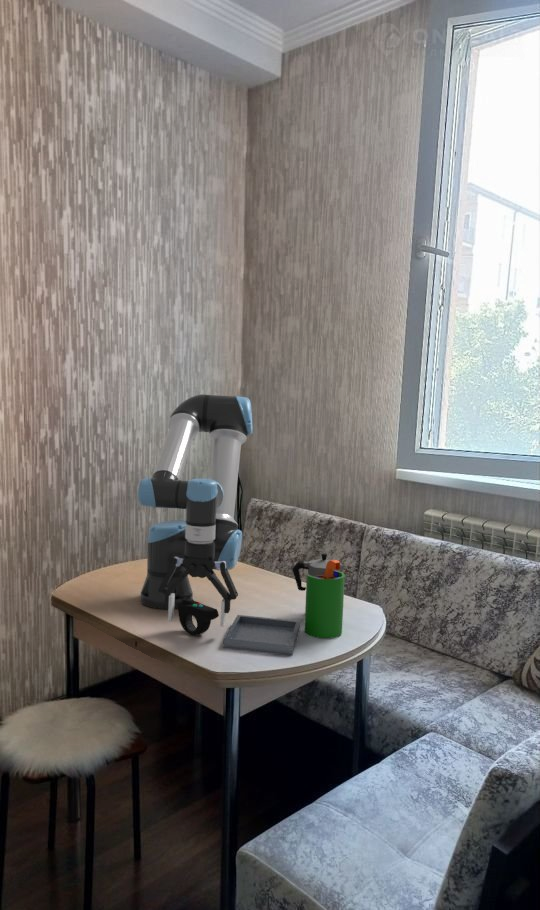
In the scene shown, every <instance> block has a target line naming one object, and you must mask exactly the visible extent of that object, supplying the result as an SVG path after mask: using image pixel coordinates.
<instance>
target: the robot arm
mask: <svg viewBox="0 0 540 910" xmlns="http://www.w3.org/2000/svg"><path fill="white" fill-rule="evenodd" d="M167 426H168V427H167V428H168V432H167V435H166V437H165V440H164V444H163V445H162V449H161V452H160V454H159V457H158V460H157V462H156V465H155V467H154V471H153V473H152V476H151V477H144V478H142V479H140V481H139V483H138V490H137V498H138V502H139V505H141V506H143V507H150V508H162V509H180V510H181V509H182V510H186V511H185V513H186V514H185V515H186V516H185V517H186V518H185V520H183V519H176V520H175V519H173V520H165V521H160V522H157V523H154V524H153V525H151V526H150V528H149V530H148V536H147V559H146V560H147V564H146V565H147V568H146V570H147V572H146V577H145V580H144V582H143V585H142V587H141V591H140V595H139V596H140V599H139V601H140V603H141V602H142V603H143V604H142V603H141V604H142V605H144V606H145V605H146V607H149V608H153V609H160V610H168V611H167V622H172V621H173V620H174V618H175V609H178V603H177V602H178V601H180V600H183V599H185V598H186V596H184V594H185V593H192V596H191V598H192V599H193V598H194V597H193V596H194V593H193V590H192V585H191V583H190V582H191V581H190V579H189V576H190V577H192V578H200V579H204V578H206V579H207V580H208V581H210V582H211V584H212V585H213V586H214V588H215V589H216V591H217V592H218V593H219V594H220V596H221V598H222V600H221V602H220V603H221V604H220V605H221V606H220V625H219V626H220V628H223V627H224V626H225V624H226V619H227V614H229V613H230V611H231V601H232V600H236V599H238V596H239V593H238V590H237V588H236V586H235V583H234V582H233V579H232V576H231V575H230V572H229V571H231V570H233V569H234V568H235V567H236V565H237V564H238V560H239V557H240V553H241V549H242V542H243V532H242V530H240V529H239V524H238V522H237V521H236V520H235V518H234V517H235V509H236V508H235V507H236V499H237V498H236V497H237V490H238V489H237V488H238V478H239V471H240V470H239V468H240V462H241V461H240V459H241V451H242V449H241V448H242V445H243V444H244V443H246V442H247V440H248V436H250V435H253V428H254V427H253V413H252V404H251V400H250V399H249V398H248V397H247V396H237V395H219V394H218V395H215V394H196V395H194V396H191V397H189V398H187V399H185V400H184V401H183V402H181V403H180V404H178V405H177V407H176V408H175V409H174V411H173V412H172V413H171V414H170V417H169V420H168V423H167ZM199 433H209V434H208V437H209V439H210V440H211V441H212V448H211V449H212V450H211V458H210V467H209V474H208V478H202V477H201V478H192V479H190V480H181V478H182V475H183V472H184V468H185V465H186V463H187V459H188V456H189V453H190V450H191V446H192V444H193V441H194V438H196V437H197V435H199ZM215 570H216V571H220V575H221V576H222V579H223V581H224V584H225V585H224V584H223V582H222V581H221V580H220V579H219V577H218V576H217V574H216V573H215ZM225 586H226V587H225ZM193 600H194V599H193Z"/></svg>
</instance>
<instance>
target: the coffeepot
mask: <svg viewBox="0 0 540 910" xmlns="http://www.w3.org/2000/svg"><path fill="white" fill-rule="evenodd" d="M327 557H328V554H327V553H321V559H314V560H313V559H312V560H308V561H298V562H297V563H296V564H295V565H294V566H293V567H292V573H293V576H294V579H295V583H296V586H297V589H298V591H305V592H306V586H302V579H301V574H300V569H303V570H307V575H310V576H313V577H314V576H318V575H325V570H326V565H327V563H328V561H331V560H332V559H331V560H328V559H327ZM346 567H347V565H346V564H345V563H342V562H340V570H337V571H340V572H342V573H343V570H344V569H345V568H346Z"/></svg>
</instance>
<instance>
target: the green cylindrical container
mask: <svg viewBox="0 0 540 910" xmlns="http://www.w3.org/2000/svg"><path fill="white" fill-rule="evenodd" d="M340 563H341V561H339V560H338V559H331V561H328V563H327V565H326V570H325V575H318V576H314V577H313V576H310V575H308V574H307V575H306V586H305V587H306V590H305V608H304V609H305V611H304V633H305V635H307V636H309V637H312V638H317V639H335V638H338V637H340V636H342V634H343V616H344V595H345V576H346V574H345V573H343V571H342V572H340V571H337V570H340Z"/></svg>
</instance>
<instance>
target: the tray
mask: <svg viewBox="0 0 540 910" xmlns="http://www.w3.org/2000/svg"><path fill="white" fill-rule="evenodd" d="M300 632H301V620H293V619H292V620H291V619H282V618H273V617H262V616H255V615H254V616H253V615H242V614H237V615H236V617H235V618H234V620H233V622H232V624H231V625H230V627H229V628H228V630H227V632H226V634H225V635H224V637H223V649H229V650H236V651H237V650H238V651H245V652H246V651H248V652H254V653H255V652H256V653H267V654H275V655H284V656H293V655H294V651H295V649H296V648H295V647H296V645H297V642H298V639H299V636H300Z"/></svg>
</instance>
